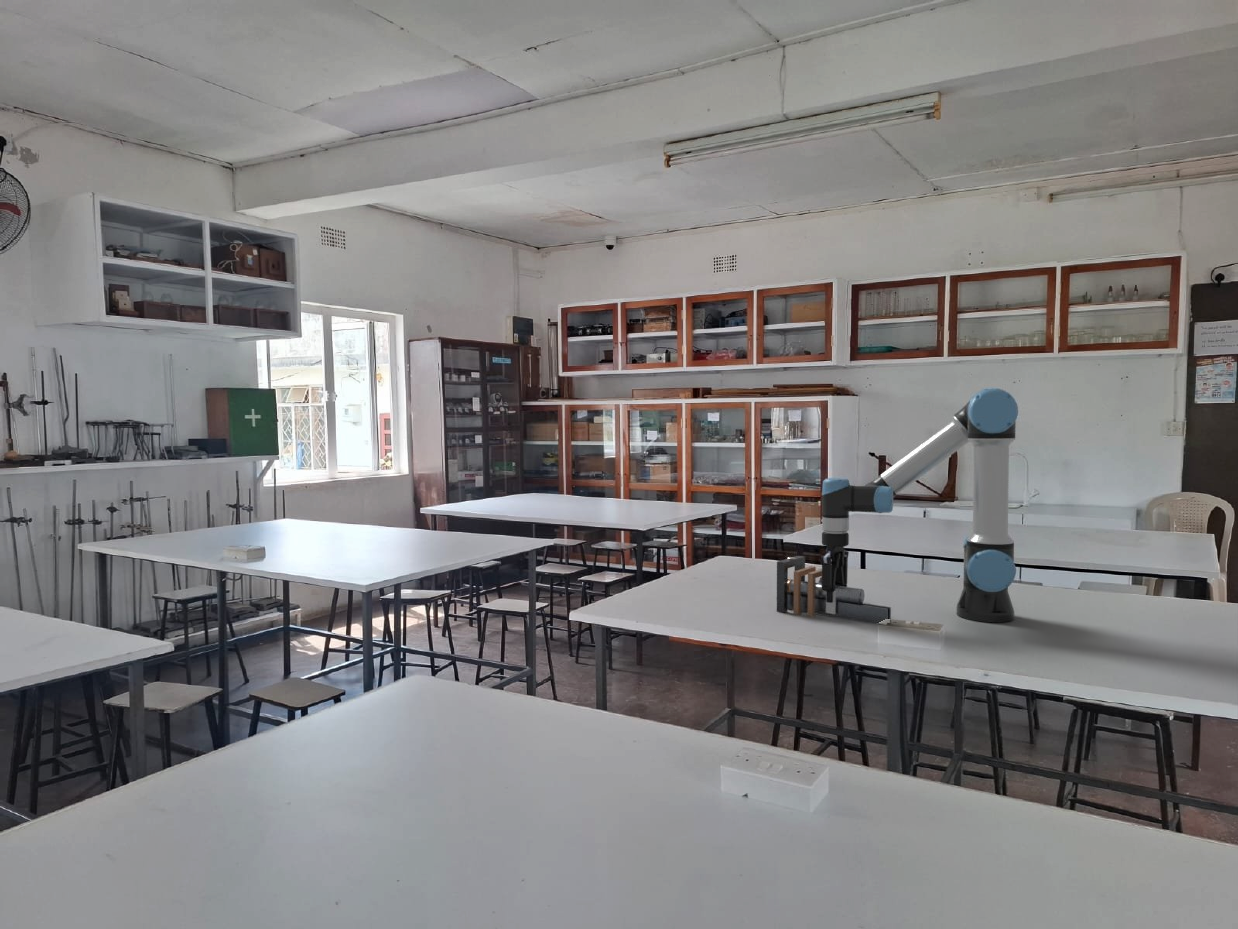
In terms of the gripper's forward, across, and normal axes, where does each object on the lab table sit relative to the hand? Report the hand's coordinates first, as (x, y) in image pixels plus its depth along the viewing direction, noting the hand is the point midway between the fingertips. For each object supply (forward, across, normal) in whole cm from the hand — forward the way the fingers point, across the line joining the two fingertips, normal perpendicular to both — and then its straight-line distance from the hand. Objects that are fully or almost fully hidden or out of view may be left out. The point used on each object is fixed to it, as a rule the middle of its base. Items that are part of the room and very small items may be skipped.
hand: (834, 611), depth 230 cm
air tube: (-3, 0, -4) cm, 5 cm away
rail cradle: (+1, 0, 0) cm, 1 cm away
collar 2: (+1, 0, -5) cm, 5 cm away
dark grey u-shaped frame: (+1, 0, -14) cm, 14 cm away
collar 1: (+1, 0, -10) cm, 10 cm away
